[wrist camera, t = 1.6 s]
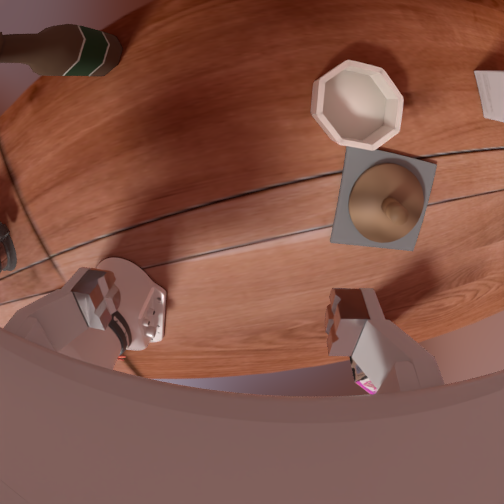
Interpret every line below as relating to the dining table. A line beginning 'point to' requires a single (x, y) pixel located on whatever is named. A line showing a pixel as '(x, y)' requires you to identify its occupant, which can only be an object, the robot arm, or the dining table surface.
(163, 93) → the dining table surface
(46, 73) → the beer bottle
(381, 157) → the mat
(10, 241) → the tankard
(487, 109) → the supplement box
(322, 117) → the bowl
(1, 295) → the dining table surface
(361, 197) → the lid
